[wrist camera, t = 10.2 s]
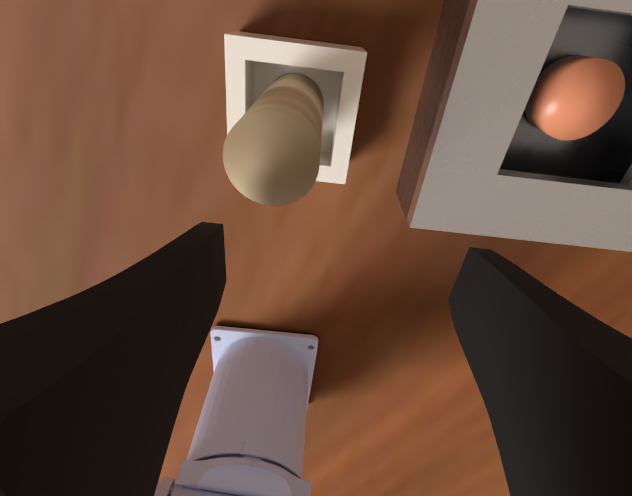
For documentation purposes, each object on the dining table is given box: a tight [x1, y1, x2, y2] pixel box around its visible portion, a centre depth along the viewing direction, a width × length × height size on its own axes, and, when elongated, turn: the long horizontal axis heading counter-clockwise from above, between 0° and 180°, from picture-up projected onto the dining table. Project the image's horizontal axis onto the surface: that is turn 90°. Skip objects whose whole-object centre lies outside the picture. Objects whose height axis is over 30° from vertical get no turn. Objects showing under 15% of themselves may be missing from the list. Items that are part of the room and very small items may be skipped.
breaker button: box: [525, 55, 625, 140], centre depth 15 cm, size 3×3×1 cm
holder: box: [224, 31, 367, 184], centre depth 16 cm, size 6×6×3 cm
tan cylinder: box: [223, 73, 324, 206], centre depth 14 cm, size 3×3×8 cm
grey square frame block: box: [396, 0, 632, 252], centre depth 15 cm, size 12×12×4 cm
